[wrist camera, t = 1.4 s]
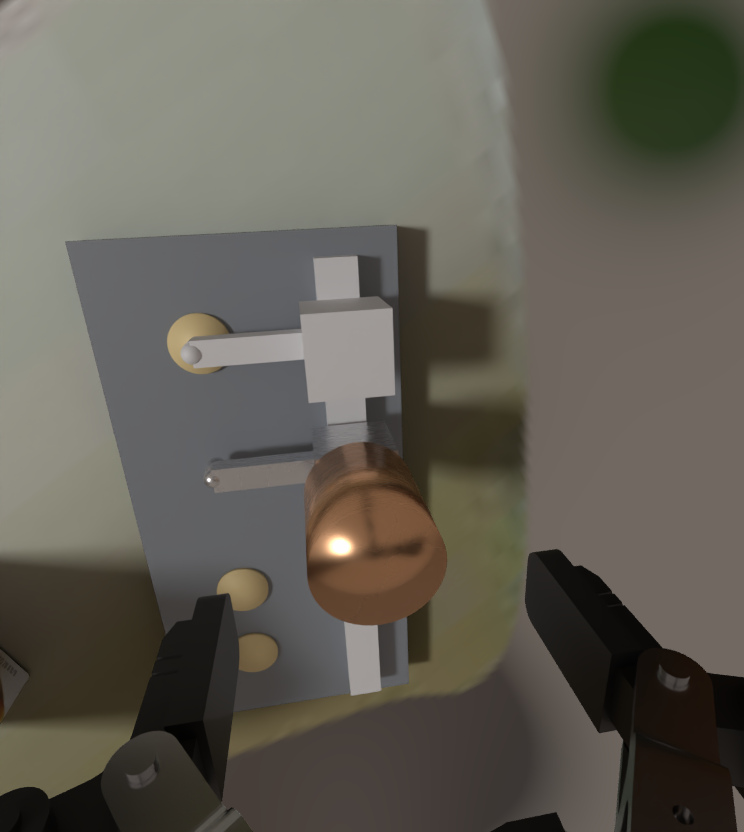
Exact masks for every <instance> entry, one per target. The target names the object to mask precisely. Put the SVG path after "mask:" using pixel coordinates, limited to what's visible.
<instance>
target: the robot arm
mask: <svg viewBox="0 0 744 832" xmlns="http://www.w3.org/2000/svg"><path fill="white" fill-rule="evenodd" d="M525 604H526V609H527V613H528V616H529V619H530V621H531V623H532V624H533V626H534V628H535V629H536V631H537V633H538V634H539V636H540V637H541V639H542V641H543V642H544V644H545V646H546V647H547V649H548V650H549V652H550V654H551V655H552V657H553V659H554V660H555V662H556V664H557V665H558V667H559V668H560V670H561V671H562V673H563V675H564V677H565V678H566V680H567V682H568V683H569V685H570V687H571V688H572V689H573V691H574V693H575V695H576V696H577V698H578V700H579V701H580V703H581V705H582V706H583V708H584V709H585V711H586V713H587V714H588V716H589V717H590V719H591V721H592V722H593V724H594V726H595V727H596V729H597V731H598V732H599V733H603V732H608V731H614V730H617V731H618V733H619V734H620V736H621V737H622V739H623V744H622V748H621V759H620V771H619V783H618V795H617V807H616V820H615V829H614V832H737V823H736V815H735V806H734V798H733V789H732V786H735V787H736V789H737V790H738V791H739V793H740V794H741V796H742V797H743V798H744V677H736V676H728V675H719V674H711V673H707V672H706V671H705V670H704V669H703V668H702V667H701V666H700V665H699V664H698V663H697V662H696V661H694V660H692V659H691V658H689V657H687V656H686V655H684V654H681V653H680V652H677V651H674V650H670V649H665V648H662V647H661V646H660V644H659V643H658V642H657V641H656V640H655V639H654V638H653V637H652V636H651V634H650V633H649V632H648V631H647V630H646V629H645V628H644V627H643V626H642V624H641V623H640V622H639V621H638V620H637V619H636V618H635V616H634V615H633V614H632V613H631V612H630V611H629V610H628V609H627V607H626V606H625V605H624V606H623V605H622V602H621V601H620V600H619V598H618V597H617V596H616V595H615V594H612V591H611V590H610V588H609V587H608V586H607V585H606V584H605V583H604V582H603V581H602V579H601V578H600V577H599V576H597V575H596V574H594V573H592V572H591V571H589V570H587V569H586V568H584V567H583V566H573V565H572V564H571V562H570V561H569V560H568V559H567V558H566V556H565V555H564V554H563V553H562V552H561V551H560V550H557V549H555V550H547V551H540V552H532V553H530V554H529V557H528V565H527V579H526V592H525ZM238 670H239V640H238V635H237V629H236V624H235V618H234V613H233V607H232V602H231V597H230V594H229V593H225V594H217V595H210V596H203V597H199V598H198V599H197V602H196V605H195V609H194V613H193V617H192V620H185V621H178V622H176V623H175V624H174V626H173V627H172V628H171V629H170V631H169V632H168V633H167V634H166V636H165V637H164V638H163V640H162V643H161V646H160V649H159V652H158V655H157V661H156V662H155V665H154V668H153V671H152V677H150V680H149V683H148V686H147V690H146V693H145V696H144V699H143V702H142V705H141V708H140V711H139V714H138V717H137V721H136V724H135V727H134V730H133V733H132V736H131V738H130V741H128V742H127V743H125V744H124V745H123V746H121V747H120V748H119V749H118V750H117V751H116V752H115V754H114V755H113V756H112V757H111V758H110V760H109V762H108V763H107V765H106V767H105V769H104V771H103V772H102V773H100V774H99V775H97V776H96V777H94V778H93V779H91V780H89V781H87V782H85V783H83V784H81V785H78V786H76V787H74V788H72V789H70V790H68V791H66V792H63V793H61V794H59V795H57V796H55V797H53V798H51V799H48V796H47V794H46V793H45V792H44V791H43V790H41V789H39V788H35V787H24V788H19V789H16V790H12V791H10V792H8V793H5V794H3V795H2V796H0V832H253V831H252V830H251V828H250V827H249V826H248V824H247V823H246V821H245V820H244V819H243V817H242V816H241V815H240V814H239V812H237V811H236V809H234V808H230V809H229V810H227V809H226V808H225V807H224V806H223V804H222V803H221V802H222V797H223V789H224V781H225V773H226V765H227V757H228V750H229V742H230V734H231V726H232V718H233V710H234V702H235V694H236V686H237V678H238ZM491 832H565V830H564V828H563V826H562V824H561V821H560V819H559V817H558V815H557V813H556V812H555V813H550V814H545V815H541V816H535V817H530V818H525V819H521V820H516V821H511V822H507V823H505V824H503V825H502V826H500V827H498V828H496V829H495V830H493V831H491Z"/></svg>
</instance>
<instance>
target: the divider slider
mask: <svg viewBox="0 0 744 832" xmlns="http://www.w3.org/2000/svg"><path fill="white" fill-rule="evenodd" d="M311 430H312V441H313V451H309V452H299V453H289V454H280V455H270V456H261V457H251V458H242V459H232V460H224V459H222V458H219V457H216V458H213V459H211V460H210V461H209V463H208V465H207V468H206V471H205V473H204V476H203V481H204V484H205V485H206V486H207V487H209V488H214V492H215V493H220V492H229V491H238V490H247V489H256V488H265V487H274V486H283V485H292V484H300V483H305V486H304V511H305V535H306V559H307V580H308V585H309V589H310V591H311V594H312V596H313V597H314V599H315V601H316V602H317V603H318V604H319V606H320V607H321V608H322V609H323V610H325V611H326V612H327V613H328V614H330V615H331V616H333V617H335V618H337V619H339V620H341V621H344V622H347V623H351V624H356V625H371V626H373V625H382V624H387V623H391V622H394V621H398V620H400V619H403V618H405V617H407V616H409V615H411V614H413V613H414V612H416V611H417V610H419V609H420V608H421V607H423V606H424V605H425V604H426V603H427V602H428V601H429V600H430V599H431V598H432V597H433V596H434V594H435V593H436V592H437V590H438V589H439V587H440V585H441V583H442V581H443V578H444V576H445V572H446V567H447V552H446V548H445V544H444V542H443V539H442V537H441V535H440V533H439V531H438V529H437V527H436V525H435V523H434V521H433V518H432V516H431V514H430V512H429V510H428V508H427V506H426V504H425V502H424V500H423V498H422V495H421V493H420V491H419V489H418V487H417V485H416V483H415V481H414V479H413V477H412V475H411V473H410V470H409V468H408V467H407V465H406V463H405V462H404V461H403V459H402V458H401V457H400V456H399V453H398V449H397V447H396V445H395V442H394V440H393V438H392V436H391V434H390V432H389V430H388V428H387V425H386V423H385V421H384V420H383V421H373V422H363V423H353V424H343V425H333V426H323V427H313V428H311Z"/></svg>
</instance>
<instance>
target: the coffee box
mask: <svg viewBox="0 0 744 832" xmlns="http://www.w3.org/2000/svg"><path fill="white" fill-rule="evenodd" d="M28 679H29V675H28V673H27V672H25V671H24V670H23V669H22V668H21V667H20V666H19V665H18V664H16V663H15V662H14V661H13V660H12V659H11V658H10V657H9V656H8V655H7V654H6V653H4V652H3V651H2V650H1V649H0V724H1V722H2V721H3V719H4V717H5V716H6V714H7V712H8V711H9V709H10V707H11V706H12V704H13V703H14V701H15V699H16V698H17V696H18V694H19V693H20V691H21V689H22V688H23V686H24V685H25V683H26V682H27V681H28Z"/></svg>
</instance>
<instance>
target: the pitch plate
mask: <svg viewBox="0 0 744 832" xmlns="http://www.w3.org/2000/svg"><path fill="white" fill-rule="evenodd" d="M65 243H66V247H67V251H68V255H69V259H70V263H71V266H72V270H73V274H74V278H75V282H76V286H77V290H78V294H79V298H80V302H81V306H82V309H83V313H84V317H85V321H86V325H87V329H88V333H89V337H90V341H91V345H92V349H93V352H94V356H95V360H96V364H97V368H98V372H99V376H100V380H101V384H102V388H103V392H104V395H105V399H106V403H107V407H108V411H109V415H110V419H111V423H112V427H113V431H114V435H115V438H116V442H117V446H118V450H119V454H120V458H121V462H122V466H123V470H124V474H125V478H126V481H127V485H128V489H129V493H130V497H131V501H132V505H133V509H134V513H135V517H136V520H137V524H138V528H139V532H140V536H141V540H142V544H143V548H144V552H145V556H146V560H147V563H148V567H149V571H150V575H151V579H152V583H153V587H154V591H155V595H156V599H157V603H158V606H159V610H160V614H161V618H162V622H163V626H164V630H165V634H167V633H168V632H169V631H170V629H171V628H172V627H173V626H174V624H175V623H176V622H178V621H185V620H192V617H193V613H194V609H195V605H196V602H197V599H198V598H199V597H203V596H210V595H217V594H225V593H229V594H230V597H231V602H232V607H233V613H234V618H235V624H236V629H237V635H238V640H239V670H238V678H237V686H236V694H235V702H234V710H233V712H238V711H244V710H250V709H256V708H263V707H269V706H275V705H281V704H287V703H293V702H299V701H305V700H311V699H317V698H323V697H329V696H335V695H341V694H347V693H351V696H352V695H358V694H364V693H370V692H376V691H381V688H384V687H390V686H396V685H402V684H408V683H409V675H408V637H407V617H405V618H403V619H400V620H398V621H394V622H391V623H387V624H382V625H373V626H371V625H356V624H351V623H347V622H344V621H341V620H339V619H337V618H335V617H333V616H331V615H330V614H328V613H327V612H326V611H325V610H323V609H322V608H321V607H320V606H319V604H318V603H317V602H316V601H315V599H314V597H313V596H312V594H311V591H310V589H309V585H308V580H307V559H306V535H305V511H304V486H305V483H300V484H292V485H283V486H274V487H265V488H256V489H247V490H238V491H229V492H220V493H215V492H214V488H209V487H207V486H206V485H205V484H204V481H203V476H204V473H205V471H206V468H207V465H208V463H209V461H210V460H211V459H213V458H216V457H219V458H222V459H224V460H232V459H242V458H251V457H261V456H270V455H280V454H289V453H299V452H309V451H313V441H312V430H311V428H313V427H323V426H333V425H343V424H353V423H363V422H373V421H383V420H384V421H385V423H386V425H387V428H388V430H389V432H390V434H391V436H392V438H393V440H394V442H395V445H396V447H397V449H398V453H399V456H400V457H401V458H402V459H403V446H402V408H401V370H400V332H399V294H398V255H397V225H380V226H360V227H341V228H321V229H301V230H281V231H261V232H241V233H221V234H201V235H182V236H162V237H142V238H122V239H102V240H82V241H67V242H65Z"/></svg>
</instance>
